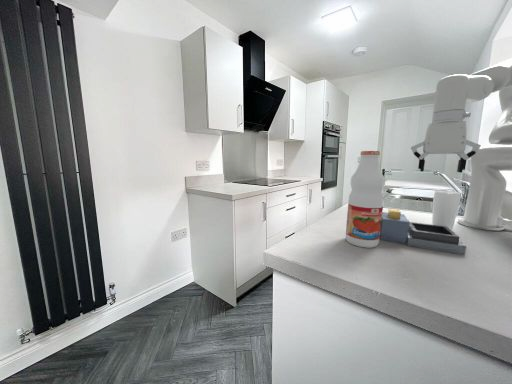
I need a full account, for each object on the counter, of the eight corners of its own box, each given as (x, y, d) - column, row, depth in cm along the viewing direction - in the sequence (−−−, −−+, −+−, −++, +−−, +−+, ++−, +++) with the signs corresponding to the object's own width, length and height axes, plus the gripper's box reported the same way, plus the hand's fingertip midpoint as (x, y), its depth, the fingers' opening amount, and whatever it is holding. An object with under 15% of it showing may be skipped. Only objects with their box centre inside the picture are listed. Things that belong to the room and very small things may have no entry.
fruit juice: (367, 236, 71) (376, 151, 67) (385, 248, 62) (397, 150, 57) (340, 236, 71) (347, 151, 66) (354, 248, 61) (363, 150, 57)
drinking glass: (429, 229, 79) (435, 189, 77) (454, 234, 74) (461, 192, 72) (427, 233, 74) (433, 191, 72) (453, 239, 70) (460, 194, 67)
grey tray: (447, 239, 70) (452, 212, 68) (464, 254, 58) (470, 223, 57) (372, 228, 79) (374, 205, 78) (373, 240, 68) (376, 213, 66)
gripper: (481, 117, 66) (472, 171, 69) (413, 122, 76) (407, 170, 79) (490, 113, 60) (480, 173, 63) (414, 119, 70) (408, 171, 72)
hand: (439, 171), depth 71 cm, fingers open, 9 cm apart
